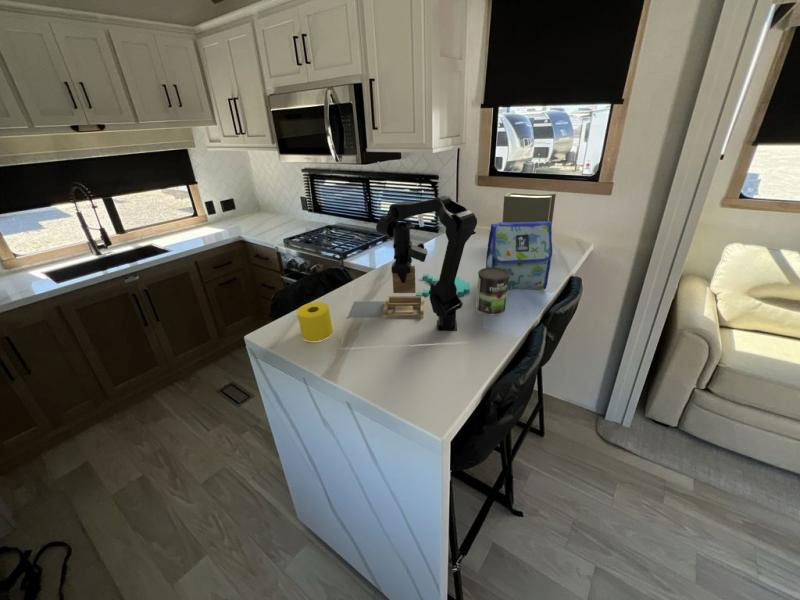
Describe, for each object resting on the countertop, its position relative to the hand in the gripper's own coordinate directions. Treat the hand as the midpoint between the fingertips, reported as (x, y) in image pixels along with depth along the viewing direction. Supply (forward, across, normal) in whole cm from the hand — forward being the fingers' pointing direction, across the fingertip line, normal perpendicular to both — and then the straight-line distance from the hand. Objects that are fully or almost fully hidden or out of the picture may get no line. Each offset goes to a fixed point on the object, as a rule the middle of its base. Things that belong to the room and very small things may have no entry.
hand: (403, 281), depth 127 cm
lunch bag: (+10, +17, -43) cm, 47 cm away
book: (+10, +57, -55) cm, 80 cm away
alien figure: (+11, +14, -15) cm, 23 cm away
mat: (+10, -3, +14) cm, 17 cm away
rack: (+10, -3, 0) cm, 10 cm away
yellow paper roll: (+10, -19, +28) cm, 35 cm away
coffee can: (+10, -2, -31) cm, 33 cm away
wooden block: (+4, 0, 0) cm, 4 cm away
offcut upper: (+10, -5, 0) cm, 11 cm away
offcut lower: (+11, -5, 0) cm, 12 cm away
